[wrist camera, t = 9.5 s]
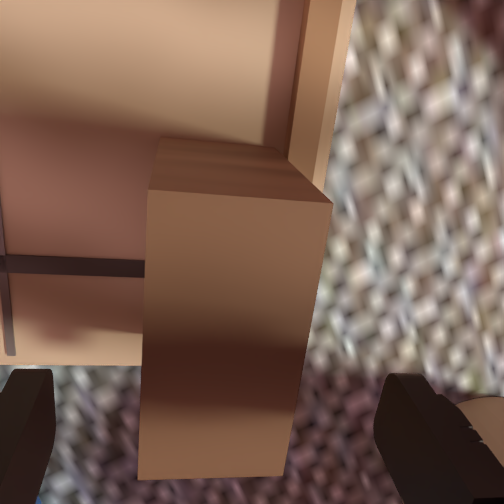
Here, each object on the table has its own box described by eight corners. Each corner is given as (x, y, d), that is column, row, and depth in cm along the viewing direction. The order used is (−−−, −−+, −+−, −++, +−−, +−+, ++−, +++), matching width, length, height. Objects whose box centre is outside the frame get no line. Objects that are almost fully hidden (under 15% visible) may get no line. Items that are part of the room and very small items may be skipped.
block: (160, 136, 16) (147, 189, 10) (274, 147, 17) (333, 203, 10) (150, 358, 19) (136, 507, 13) (246, 359, 20) (278, 501, 14)
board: (-148, -373, 12) (-220, -465, 10) (382, -244, 14) (417, -294, 12) (-40, 342, 20) (-65, 377, 18) (285, 346, 22) (295, 378, 20)
